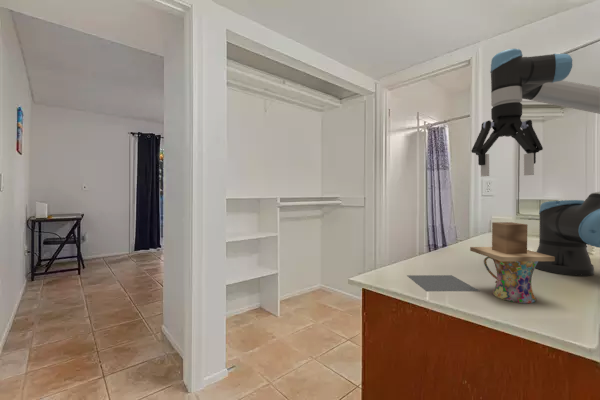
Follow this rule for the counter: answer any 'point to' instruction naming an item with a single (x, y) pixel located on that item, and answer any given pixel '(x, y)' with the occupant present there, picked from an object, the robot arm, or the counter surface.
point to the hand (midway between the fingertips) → (507, 175)
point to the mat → (441, 283)
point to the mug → (513, 280)
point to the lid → (510, 244)
